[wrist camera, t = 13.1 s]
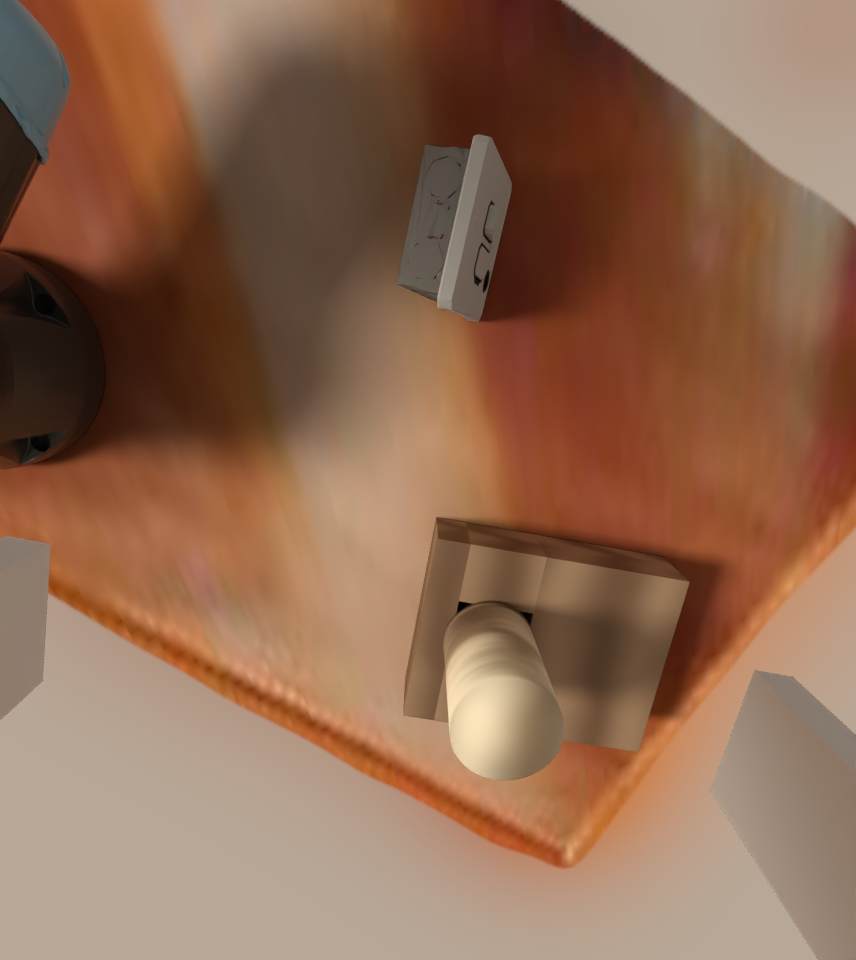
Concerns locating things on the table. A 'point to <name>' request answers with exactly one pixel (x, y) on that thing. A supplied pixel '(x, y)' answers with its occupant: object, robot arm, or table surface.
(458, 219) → the electrical switch
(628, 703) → the board
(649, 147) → the table surface
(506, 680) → the leg peg
